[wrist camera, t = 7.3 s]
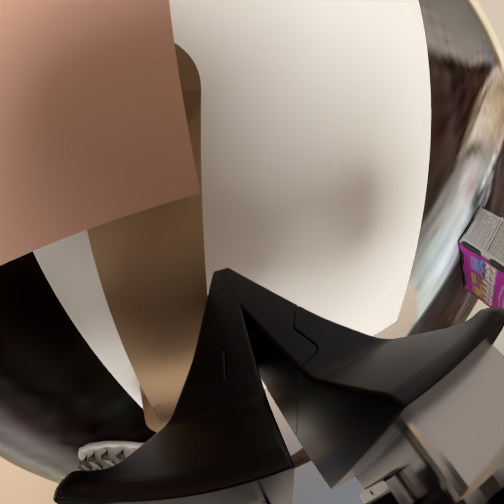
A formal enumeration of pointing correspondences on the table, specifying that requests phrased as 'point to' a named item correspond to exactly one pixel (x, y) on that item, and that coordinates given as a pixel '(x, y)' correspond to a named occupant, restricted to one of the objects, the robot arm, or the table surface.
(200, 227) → the link
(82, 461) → the decorative candle
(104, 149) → the plate
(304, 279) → the board
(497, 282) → the candy bar box
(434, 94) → the table surface
